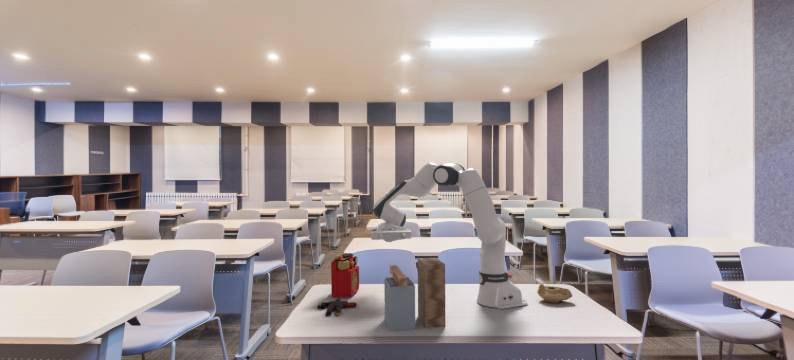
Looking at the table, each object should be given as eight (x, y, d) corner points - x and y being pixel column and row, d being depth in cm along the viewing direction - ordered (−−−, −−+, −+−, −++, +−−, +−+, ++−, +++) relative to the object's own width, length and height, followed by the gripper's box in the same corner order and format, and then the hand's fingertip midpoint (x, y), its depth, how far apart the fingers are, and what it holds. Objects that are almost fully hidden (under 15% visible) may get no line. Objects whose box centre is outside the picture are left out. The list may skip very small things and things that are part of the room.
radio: (350, 299, 178) (350, 257, 178) (330, 298, 180) (330, 256, 180) (360, 289, 193) (360, 251, 193) (341, 288, 195) (341, 250, 195)
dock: (408, 317, 153) (408, 276, 154) (415, 328, 142) (414, 284, 142) (384, 319, 152) (384, 277, 152) (389, 330, 140) (389, 285, 140)
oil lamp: (576, 305, 168) (576, 287, 168) (543, 305, 167) (543, 287, 167) (564, 297, 179) (564, 280, 179) (534, 297, 178) (533, 281, 178)
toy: (358, 307, 167) (358, 301, 167) (335, 319, 153) (335, 312, 153) (332, 302, 175) (332, 295, 175) (307, 313, 161) (307, 306, 161)
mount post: (436, 315, 156) (436, 258, 156) (445, 326, 144) (445, 264, 144) (418, 316, 154) (417, 258, 154) (425, 327, 142) (425, 265, 142)
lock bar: (396, 272, 161) (396, 265, 161) (406, 286, 139) (406, 277, 139) (389, 272, 160) (389, 265, 160) (399, 286, 139) (399, 278, 139)
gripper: (368, 227, 189) (371, 231, 175) (408, 226, 192) (414, 229, 179) (368, 239, 189) (371, 244, 175) (408, 238, 192) (414, 242, 179)
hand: (393, 237), depth 177 cm, fingers open, 8 cm apart
